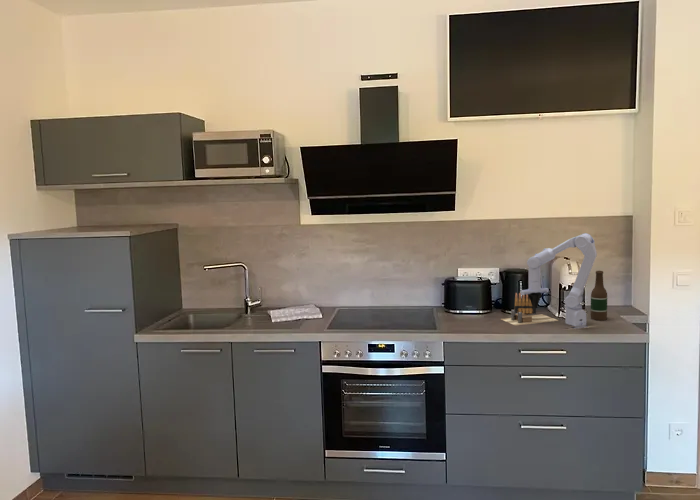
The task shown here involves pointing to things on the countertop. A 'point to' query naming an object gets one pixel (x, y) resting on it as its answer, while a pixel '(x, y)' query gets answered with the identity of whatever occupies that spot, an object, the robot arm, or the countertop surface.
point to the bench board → (535, 319)
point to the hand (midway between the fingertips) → (534, 307)
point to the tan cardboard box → (524, 318)
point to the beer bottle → (599, 299)
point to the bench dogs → (518, 316)
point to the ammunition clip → (523, 304)
